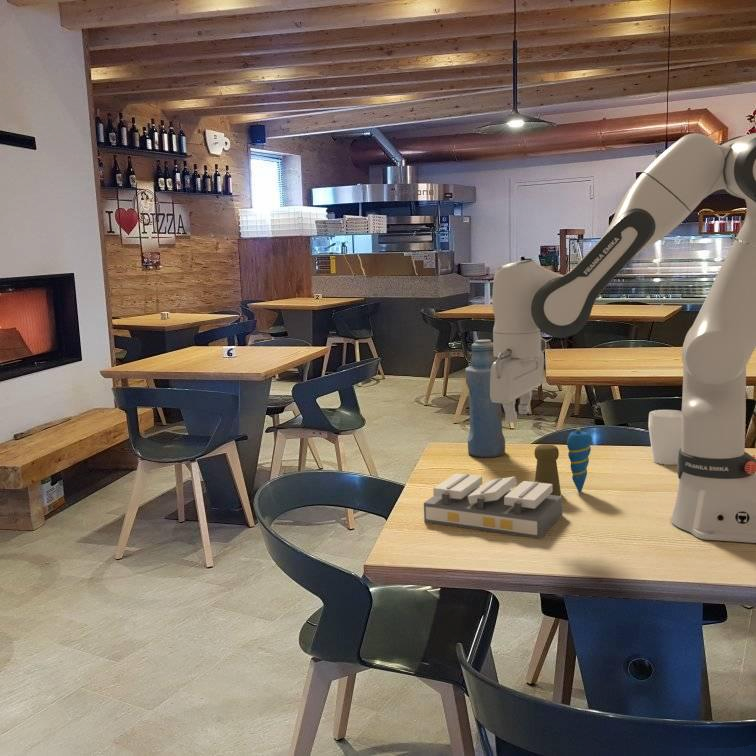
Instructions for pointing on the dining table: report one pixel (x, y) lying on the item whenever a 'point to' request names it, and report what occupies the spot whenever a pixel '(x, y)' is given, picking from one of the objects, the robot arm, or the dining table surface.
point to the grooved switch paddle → (458, 485)
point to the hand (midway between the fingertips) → (517, 417)
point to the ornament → (579, 455)
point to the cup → (665, 435)
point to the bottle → (483, 404)
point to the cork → (547, 466)
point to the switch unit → (494, 514)
